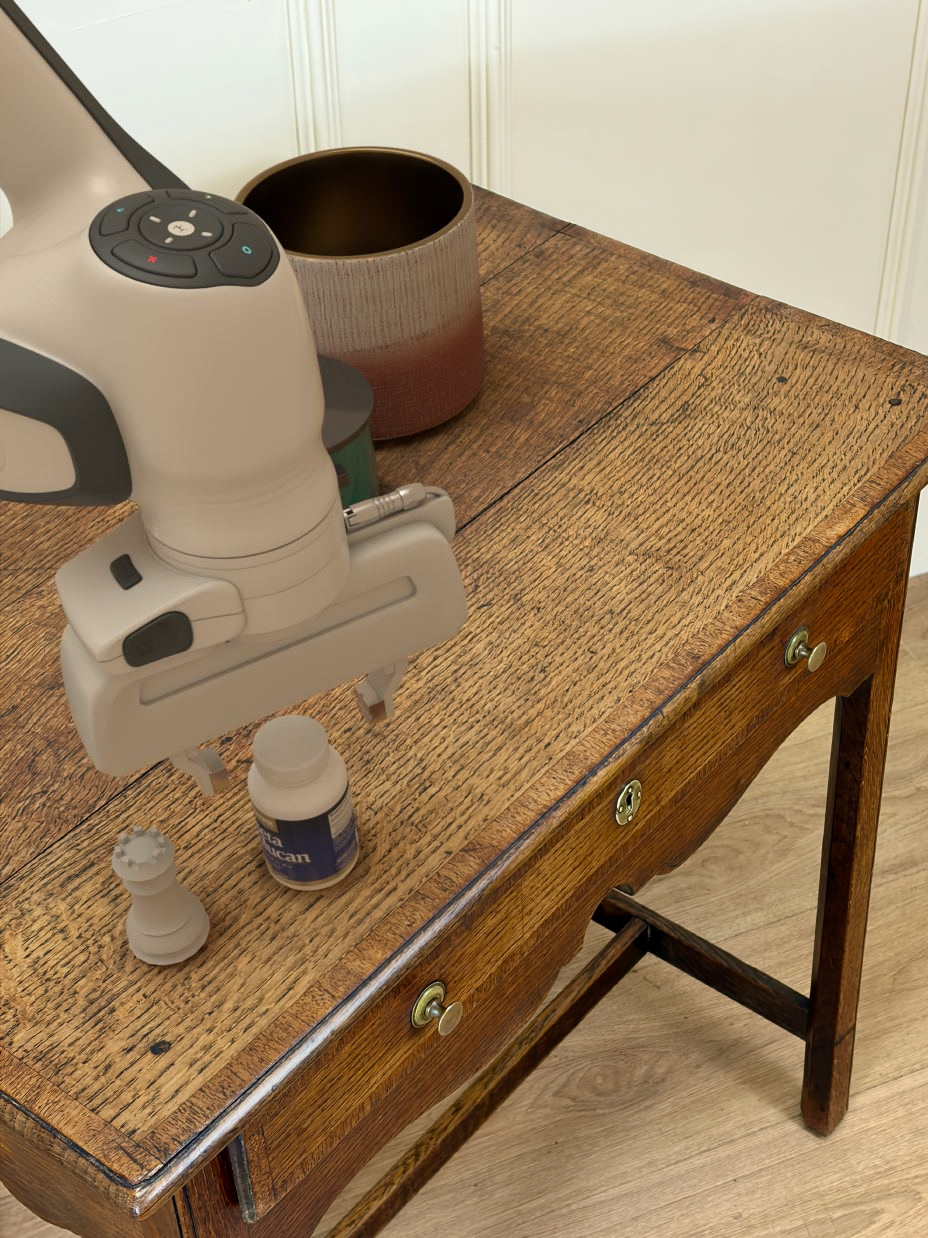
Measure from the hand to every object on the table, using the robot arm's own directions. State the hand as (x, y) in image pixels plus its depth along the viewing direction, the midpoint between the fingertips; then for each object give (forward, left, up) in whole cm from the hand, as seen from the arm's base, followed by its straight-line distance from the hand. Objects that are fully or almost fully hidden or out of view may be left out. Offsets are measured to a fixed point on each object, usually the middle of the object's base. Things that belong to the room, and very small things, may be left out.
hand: (296, 748), depth 78 cm
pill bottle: (0, 0, -9) cm, 9 cm away
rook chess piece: (-9, -1, -9) cm, 13 cm away
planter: (+24, +41, -9) cm, 48 cm away
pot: (+12, +29, -9) cm, 33 cm away
